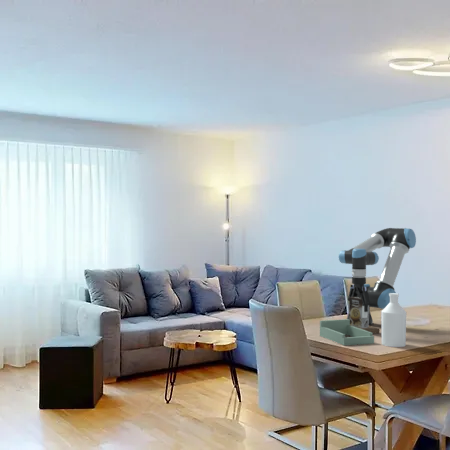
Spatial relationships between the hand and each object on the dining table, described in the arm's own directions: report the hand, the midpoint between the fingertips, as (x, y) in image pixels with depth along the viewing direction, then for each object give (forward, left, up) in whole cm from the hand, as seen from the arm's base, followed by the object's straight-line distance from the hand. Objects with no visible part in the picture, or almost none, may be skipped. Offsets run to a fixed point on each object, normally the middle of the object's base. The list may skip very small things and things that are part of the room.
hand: (358, 316), depth 325 cm
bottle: (+35, -2, -9) cm, 36 cm away
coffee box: (0, 0, -6) cm, 6 cm away
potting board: (0, 0, -8) cm, 8 cm away
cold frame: (+18, -18, -8) cm, 27 cm away
